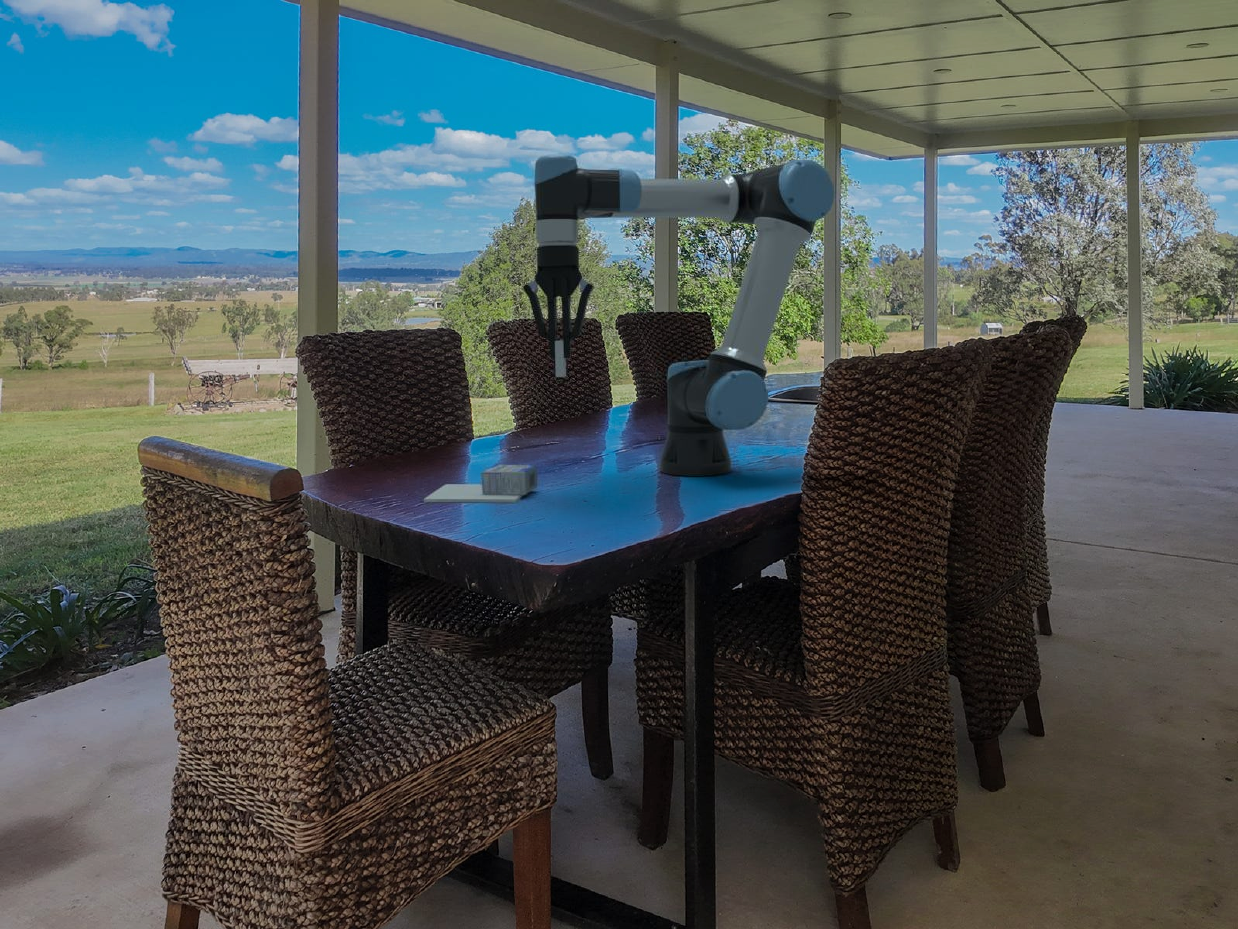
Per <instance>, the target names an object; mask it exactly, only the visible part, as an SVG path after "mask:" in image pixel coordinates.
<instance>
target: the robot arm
mask: <svg viewBox="0 0 1238 929" xmlns="http://www.w3.org/2000/svg"><path fill="white" fill-rule="evenodd" d="M534 167H535V168H534V182H533V183H534V184H533V185H534V195H535V214H536V215H535V218H536V220H535V229H536V230H535V232H536V233H535V234H536V235H535V237H536V239H535V240H536V243H537V244H539V246H538V247H537V248H536V260H537V261H536V264H537V265H536V267H537V270H536V274H535V275H534V279H533V280H532V281H530V282H529V283H528V284H524V285H523V287H522V290H523V291H524V293H525V294H526V295H527V297H528V299H529V302H530V306H531V310H532V315H533V319H534V322H535V325H536V329H537V332H538V336H539V337H541V338H543V339H546V340H547V341H548V345H549V346H548V349H549V351H548V352H549V358H550V359H554V360H555V378H565V377H567V364H566V363H567V359H571V356H572V340H573V339H574V338H578V337H580V336H581V335H582V330H583V326H584V321H585V320H584V319H585V316H586V311H587V307H588V302H589V297H590V296H591V294H592V292H593V291H594V289H595V285H594V284H593V283H590V282H588V281H586V280H585V279H583V275H582V274H581V271H580V263H579V262H580V258H579V257H580V253H579V251H580V250H579V247H578V245H576V244H577V243H579V223H578V222H579V220H582V221H583V220H586V219H606V218H610V219H612V218H613V219H615V218H618V219H619V218H620V219H621V218H625V219H626V218H627V219H628V218H629V219H630V218H639V219H641V218H642V219H643V218H644V219H645V218H650V219H651V218H655V219H657V218H660V219H661V218H666V219H667V218H671V219H673V218H678V219H679V218H680V219H681V218H682V219H683V218H688V219H689V218H690V219H691V218H694V219H698V218H704V219H705V218H709V219H711V218H714V219H716V218H718V219H720V221H721V222H722V223H724V224H725V223H726V224H727V223H729V224H731V223H733V224H734V223H735V224H745V225H747V224H748V225H754V226H755V228H756V230H757V235H756V239H755V242H754V244H753V247H752V251H751V253H750V257H749V259H748V263H747V266H746V268H745V273H744V275H743V278H742V282H741V284H740V288H739V290H738V293H737V297H736V300H735V303H734V305H733V309H732V312H731V315H730V319H729V322H728V324H727V328H726V331H725V333H724V337H723V341H722V343H721V346H720V347H719V348H717V349H716V350H714V351H711V352H710V355H709V358H708V359H707V360H706V359H703V360H691V361H680V362H679V361H678V362H674V363H672V364H669V367H668V368H667V375H666V376H667V377H666V384H667V386H666V387H667V394H666V395H667V437H666V440H665V444H664V447H663V449H662V452H661V455H660V459H659V471H660V473H662V474H667V475H675V476H687V477H689V476H690V477H703V476H705V477H708V476H716V475H724V474H728V473H730V472H731V471H732V458H731V456H730V452H729V448H728V446H727V443H726V439H725V436H724V430H725V431H739V430H745V429H747V428H749V427H752V426H753V425H754V424H756V423H757V422H758V421H759V420H760V419H761V417H762V416H763V415H764V413H765V411H766V409H767V408H768V407H767V406H768V403H769V391H768V389H767V384H766V383H765V379H766V376H767V372H768V369H767V367H766V365H765V363H764V358H765V357H764V356H765V353H766V350H767V348H768V344H769V342H770V339H771V335H772V332H773V330H774V326H775V323H776V321H777V317H778V313H779V311H780V308H781V304H782V302H783V298H784V295H785V293H786V289H787V286H788V283H789V279H790V277H791V275H792V271H793V268H794V265H795V261H796V259H797V255H798V252H799V249H800V246H801V245H802V244H804V243H806V242H807V241H809V240H810V239H811V238H812V234H813V231H814V228H815V226H816V223H817V221H819V220H821V219H823V218H824V217H826V215H827V214H828V213H829V212H830V211H831V209H832V207H833V204H834V199H835V188H834V187H835V186H834V182H833V181H832V179H831V175H830V174H829V172H828V171H827V170H826V169H825V167H824V166H822V165H821V164H820V163H819V162H816V161H814V160H812V159H811V160H810V159H792V160H790V161H788V162H786V163H782V164H778V165H773V166H768V167H765V168H762V169H761V168H760V169H758V170H754V171H750V172H744V173H737V174H724V175H722V177H720V179H703V178H701V179H699V178H698V179H695V178H694V179H692V178H689V179H688V178H683V179H682V178H640V176H639V175H638V173H636V172H635V171H632V170H624V169H621V168H620V169H592V168H591V169H588V168H586V169H585V168H582V167H581V168H580V167H579V165H578V162H577V158H576V157H574V156H573V155H566V154H548V155H542V156H540V157H538V158H537V159H536V161H535V165H534ZM538 286H539V288H540V289H541V291H542V292H543V293H544V295H545V296H546V302H547V323H548V324H547V325H548V329H547V327H546V323H545V318H544V315H543V312H542V307H541V304H540V300H539V297H538V295H537V294H538V291H539V289H538ZM578 287H579V292H580V293H581V294H580V296H579V300H578V306H577V310H576V314H575V315H576V316H575V320H574V325H573V329H572V321H571V320H572V317H571V316H572V315H571V314H572V312H571V301H572V298H571V297H572V295H573V294H574V293H575V291H576V289H577V288H578ZM559 297H560V298H561V299H560V300H561V301H560V302H561V316H562V317H561V321H562V326H561V328H562V337H561V338H562V340H558V338H559V337H558V316H557V315H558V314H557V313H558V312H557V308H558V306H557V301H558V298H559Z"/></svg>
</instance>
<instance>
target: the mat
mask: <svg viewBox="0 0 1238 929" xmlns="http://www.w3.org/2000/svg"><path fill="white" fill-rule="evenodd" d="M522 497H524V495H494V494H483V492H482V483H481V484H480V483H479V484H478V483H477V484H470V483H469V484H461V483H459V484H457V483H456V484H455V483H452V484H450V483H449V484H448V483H446V484H444V485H442V486H441V487H440V488H437V489H436V490H435V491H434V492H432V493H430V494H429V495H427V496H426V497H425V498H423V503H473V504H474V503H479V504H481V503H487V504H489V503H493V504H494V503H497V504H498V503H499V504H500V503H505V504H507V503H508V504H509V503H513V504H516V503H518V502H519V500H521V498H522Z"/></svg>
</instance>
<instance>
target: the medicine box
mask: <svg viewBox="0 0 1238 929" xmlns="http://www.w3.org/2000/svg"><path fill="white" fill-rule="evenodd" d="M481 484H482V492H483V494H494V495H523V496H525V495H527V494H529V493H530V492H532V491H533V490H535V489H537V488H538V467H537V465H532V464H531V465H529V464H527V465H525V464H524V465H523V464H494V465H492V466H490V467H488V468H486V469H484V470H482V471H481Z"/></svg>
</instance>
